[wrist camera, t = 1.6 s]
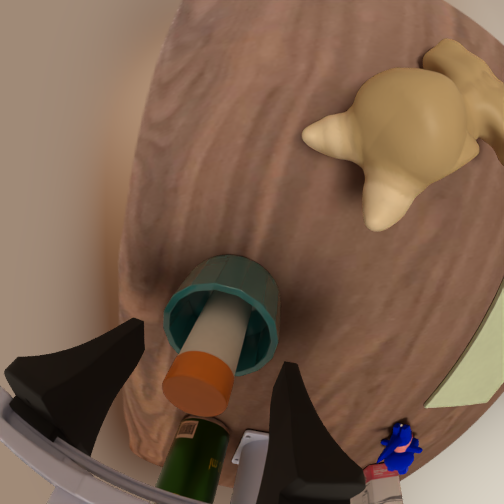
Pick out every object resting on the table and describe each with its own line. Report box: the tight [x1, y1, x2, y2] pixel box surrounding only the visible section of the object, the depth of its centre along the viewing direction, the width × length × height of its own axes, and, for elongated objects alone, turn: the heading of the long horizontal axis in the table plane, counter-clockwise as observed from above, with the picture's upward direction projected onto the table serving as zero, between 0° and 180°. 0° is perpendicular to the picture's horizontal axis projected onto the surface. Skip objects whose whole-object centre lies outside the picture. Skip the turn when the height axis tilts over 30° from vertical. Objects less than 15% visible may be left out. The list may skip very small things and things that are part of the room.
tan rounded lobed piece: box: [302, 38, 504, 231], centre depth 10 cm, size 8×7×12 cm
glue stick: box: [162, 290, 252, 417], centre depth 14 cm, size 3×3×8 cm
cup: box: [163, 255, 281, 376], centre depth 16 cm, size 6×6×4 cm
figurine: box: [376, 423, 422, 475], centre depth 20 cm, size 5×8×5 cm, turn 33°
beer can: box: [149, 415, 230, 504], centre depth 18 cm, size 5×5×12 cm
